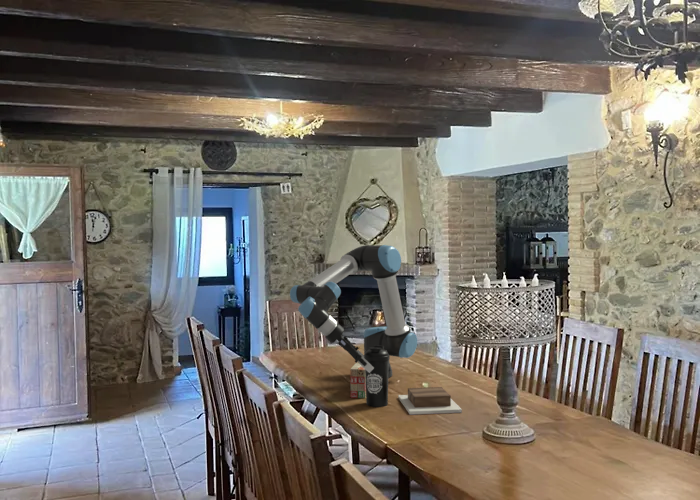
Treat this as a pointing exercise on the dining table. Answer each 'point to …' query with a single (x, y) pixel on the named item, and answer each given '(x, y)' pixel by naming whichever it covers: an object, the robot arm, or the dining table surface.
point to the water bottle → (377, 376)
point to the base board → (428, 410)
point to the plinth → (429, 397)
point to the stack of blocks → (357, 381)
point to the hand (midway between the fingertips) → (369, 366)
